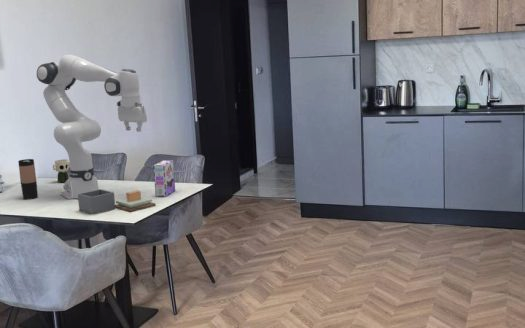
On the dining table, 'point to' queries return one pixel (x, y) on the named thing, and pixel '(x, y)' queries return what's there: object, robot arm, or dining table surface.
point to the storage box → (96, 201)
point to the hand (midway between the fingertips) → (133, 131)
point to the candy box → (164, 178)
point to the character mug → (62, 169)
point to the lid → (134, 199)
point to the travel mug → (28, 179)
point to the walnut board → (134, 207)
